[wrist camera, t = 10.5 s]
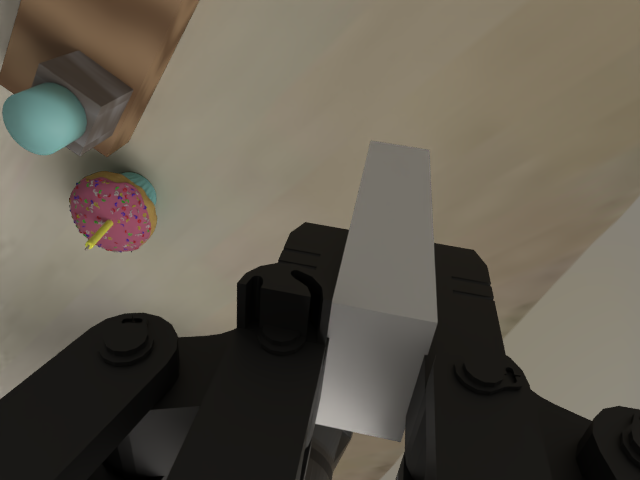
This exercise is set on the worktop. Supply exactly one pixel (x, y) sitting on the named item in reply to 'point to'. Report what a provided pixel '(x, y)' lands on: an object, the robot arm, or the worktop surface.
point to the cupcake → (114, 210)
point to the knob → (44, 118)
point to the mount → (96, 58)
